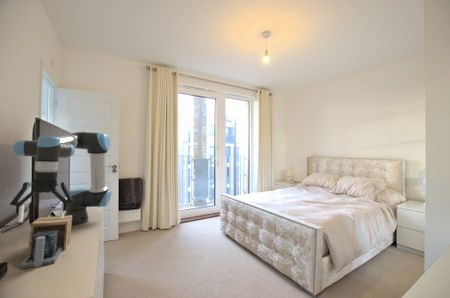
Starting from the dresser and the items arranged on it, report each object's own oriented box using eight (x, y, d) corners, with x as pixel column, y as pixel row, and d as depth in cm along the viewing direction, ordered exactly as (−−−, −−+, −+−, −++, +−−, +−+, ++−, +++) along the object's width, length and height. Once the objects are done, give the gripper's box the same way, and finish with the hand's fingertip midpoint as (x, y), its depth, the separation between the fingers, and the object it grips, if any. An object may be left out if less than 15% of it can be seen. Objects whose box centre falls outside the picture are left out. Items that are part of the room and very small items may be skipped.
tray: (32, 254, 94) (34, 229, 94) (61, 250, 99) (63, 226, 100) (19, 269, 82) (22, 240, 82) (53, 264, 87) (56, 236, 87)
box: (30, 260, 87) (32, 236, 88) (34, 254, 92) (36, 232, 93) (53, 257, 91) (55, 234, 92) (56, 251, 96) (58, 229, 96)
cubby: (36, 245, 103) (39, 217, 103) (70, 241, 110) (72, 214, 110) (28, 255, 93) (30, 224, 94) (65, 249, 100) (68, 220, 101)
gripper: (2, 171, 78) (-4, 225, 76) (79, 172, 89) (75, 219, 88) (11, 170, 84) (5, 220, 83) (82, 170, 96) (78, 214, 95)
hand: (41, 219), depth 86 cm, fingers open, 13 cm apart
